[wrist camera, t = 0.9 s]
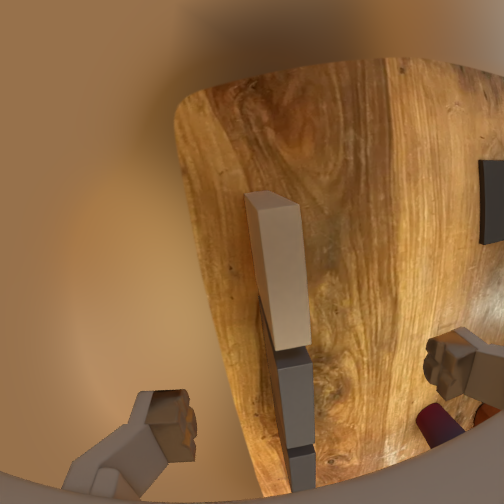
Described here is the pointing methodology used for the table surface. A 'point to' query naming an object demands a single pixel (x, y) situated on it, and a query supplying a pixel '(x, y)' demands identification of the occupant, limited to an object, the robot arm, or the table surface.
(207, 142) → the table surface
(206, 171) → the table surface
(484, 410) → the bread
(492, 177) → the book rack
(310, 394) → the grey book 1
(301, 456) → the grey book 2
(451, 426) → the cup
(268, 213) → the brown flat block
